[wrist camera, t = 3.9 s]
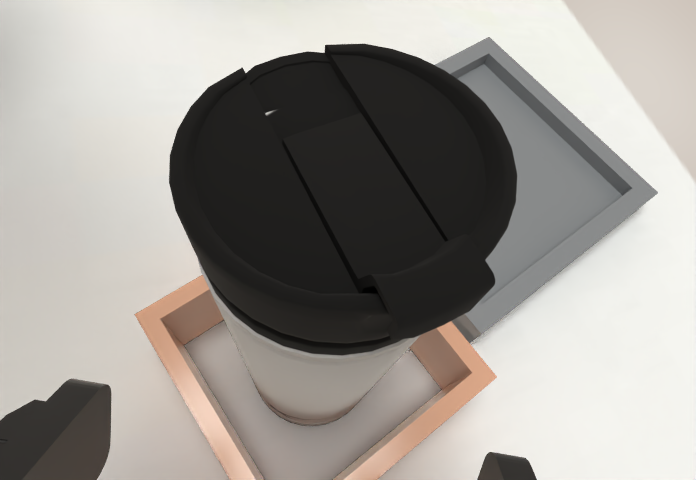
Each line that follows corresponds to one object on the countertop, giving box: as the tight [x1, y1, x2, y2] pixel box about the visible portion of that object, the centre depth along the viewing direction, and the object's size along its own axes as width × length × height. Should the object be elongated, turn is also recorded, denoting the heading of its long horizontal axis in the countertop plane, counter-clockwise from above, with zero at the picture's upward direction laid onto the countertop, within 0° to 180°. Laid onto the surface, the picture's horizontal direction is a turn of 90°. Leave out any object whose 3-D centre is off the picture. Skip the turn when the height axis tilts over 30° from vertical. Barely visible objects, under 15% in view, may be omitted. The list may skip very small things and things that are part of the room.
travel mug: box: [169, 44, 517, 426], centre depth 17 cm, size 6×7×20 cm
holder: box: [135, 275, 497, 480], centre depth 24 cm, size 12×12×5 cm
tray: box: [435, 37, 658, 343], centre depth 31 cm, size 16×16×2 cm
